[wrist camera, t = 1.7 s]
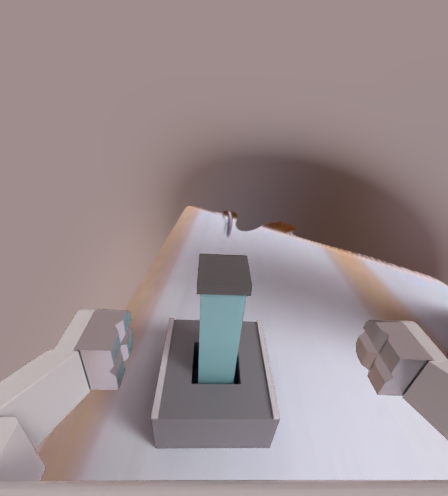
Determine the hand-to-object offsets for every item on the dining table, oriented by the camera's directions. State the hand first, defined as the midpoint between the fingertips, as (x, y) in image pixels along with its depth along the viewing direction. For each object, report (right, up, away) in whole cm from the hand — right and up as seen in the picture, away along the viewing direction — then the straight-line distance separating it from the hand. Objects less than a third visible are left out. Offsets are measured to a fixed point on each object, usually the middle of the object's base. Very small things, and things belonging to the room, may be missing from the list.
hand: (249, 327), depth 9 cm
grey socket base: (-2, -15, +24) cm, 28 cm away
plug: (-2, -14, +24) cm, 28 cm away
